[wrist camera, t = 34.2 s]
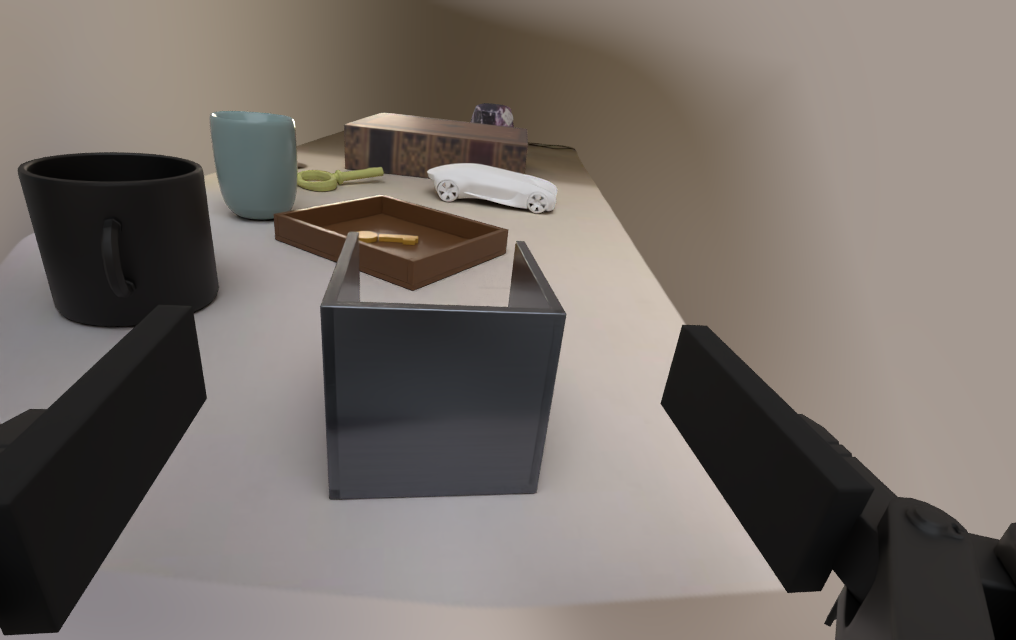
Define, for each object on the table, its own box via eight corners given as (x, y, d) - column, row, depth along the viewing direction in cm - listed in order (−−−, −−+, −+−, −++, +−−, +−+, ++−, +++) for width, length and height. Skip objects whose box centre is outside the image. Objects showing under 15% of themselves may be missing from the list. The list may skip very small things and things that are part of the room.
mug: (25, 357, 30) (-27, 193, 26) (73, 277, 39) (40, 149, 35) (219, 338, 34) (198, 194, 30) (219, 270, 43) (204, 154, 39)
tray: (275, 239, 51) (273, 213, 50) (381, 215, 62) (381, 194, 61) (412, 290, 44) (413, 261, 43) (505, 253, 55) (508, 229, 54)
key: (387, 182, 78) (387, 167, 77) (317, 193, 69) (316, 176, 68) (352, 173, 82) (352, 159, 81) (281, 182, 72) (280, 166, 71)
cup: (225, 205, 60) (213, 109, 55) (300, 206, 62) (294, 114, 58) (216, 225, 53) (203, 118, 49) (300, 225, 56) (295, 124, 52)
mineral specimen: (485, 143, 114) (479, 95, 113) (465, 155, 123) (459, 110, 122) (524, 143, 118) (519, 96, 117) (502, 155, 127) (497, 111, 126)
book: (522, 188, 85) (527, 145, 82) (345, 168, 84) (344, 124, 81) (523, 163, 107) (527, 128, 104) (382, 147, 106) (382, 112, 104)
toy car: (555, 202, 78) (560, 171, 76) (554, 215, 71) (559, 181, 69) (433, 187, 79) (435, 155, 77) (420, 198, 72) (421, 164, 70)
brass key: (353, 230, 53) (353, 235, 53) (351, 237, 51) (351, 242, 51) (418, 233, 54) (417, 238, 55) (418, 241, 52) (418, 245, 52)
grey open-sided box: (536, 493, 24) (566, 313, 20) (329, 499, 23) (319, 305, 19) (507, 385, 32) (524, 241, 28) (351, 383, 31) (348, 231, 27)
